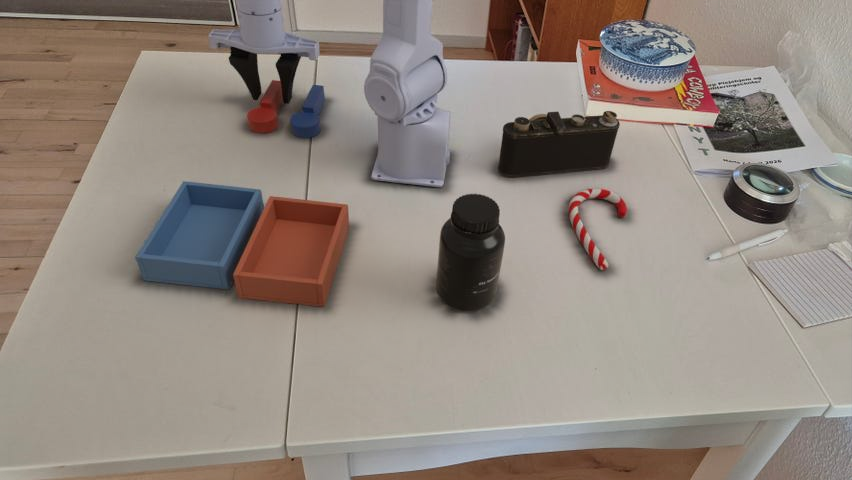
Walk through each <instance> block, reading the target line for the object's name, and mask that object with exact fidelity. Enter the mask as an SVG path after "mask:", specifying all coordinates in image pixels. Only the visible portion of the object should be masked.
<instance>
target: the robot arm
mask: <svg viewBox="0 0 852 480" xmlns="http://www.w3.org/2000/svg"><path fill="white" fill-rule="evenodd" d="M234 1H235V7H236V13H237V19H238V23H239V24H238V25H239V29H217V28H216V29H212V30H211V32H209V34H208V36H207V39H208V42H209V46H210V47H209V48H210V49H211V50H219V49H220V48H221V49H229V50H230V53H229V54H230V55H229V56H228V62H229V64H230V65H231V66H232V67H233V68H234V70H235V71H236V72H237V73H238V75H239V77H240V78H241V79H242V81H243V83H244V84H245V86H246V88H247V91H248V92H249V94H250V96H251V99H252V101H257V102H258V100H259V98H260V97H261V95H262V84H261V79H260V74H259V73H260V72H259V64H258V63H259V62H258V55H280V57H278V59H277V60H276V62H275V68H276V71H277V73H278V78H279V81H280V82H281V88H282V99H283V101H282V103H283V104H285V105H289V104H290V103H291V100H292V98H293V88H294V81H295V76H296V73H297V71H298V70H297V69H298V66H299V64H300V61H301V59H302V58H308V59H309V60H310V61H315V62H316V61H317V60H318V59H319V58H320V57H319V56H320V55H321V53H320V41H318V40H313V39H308V38H305V37H301V36H297V35H294V34H291V33H288V32H286V29H285V22H284V21H285V20H284V13H283V5H282V0H234ZM382 1H383V2H382V36H381V39H380V41H379V42H378V44H377V46H376V47H375V49H374V51H373V53H372V55H371V56H370V59H369V63H370V64H369V72H368V74H367V76H366V77H365V80H364V84H363V92H364V96H365V99H366V102H367V104H368V106H369V107H370V109H371V111H372V112H373V113H374V115H375V116H376V117H377V150H378V151H377V155H376V159H375V162H374V166H373V168H372V173H371V180H372V181H380V182H388V183H389V182H390V183H396V184H405V185H407V184H408V185H415V186H416V185H417V186H424V187H434V188H442V187H444V183H445V179H446V172H447V165H449V164H450V160H451V159H450V157H451V150H449V148H450V136H451V135H450V134H451V119H452V115H451V114H452V112H451V111H450V110H447V109H443V108H439V107H438V106H436V104H437V103H438V94H439V93H441V92H443V90H444V89H445V87H446V86H447V84H448V83H447V82H448V70H447V67H446V63H445V60H444V55H443V54H444V44H443V43H442V42H441V41H440V40H439V39H438V38H437V37H436V36H434V35H432V21H433V20H432V19H433V1H434V0H382Z"/></svg>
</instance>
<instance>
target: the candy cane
mask: <svg viewBox="0 0 852 480" xmlns="http://www.w3.org/2000/svg"><path fill="white" fill-rule="evenodd" d="M590 199H600V200H604V201H605V200H606V201H608V202H611V203H612V204H613V205H615V206H616V207H617V215H618V217H619V218H622V219H623V218H625V217H626V216H627V213H628V210H627V209H628V208H627V204H626V202H625V201H624V200H623V198H622V197H620V196H619V194H616V193H615V192H613V191H610V190H608V189H604V188H587V189H583V190H581V191H579V192H577V193H576V194H575V195H574V196H573V197H572V198H571V199H570V201H569V204H568V217H569V221H570V224H571V227H572V228H573V231H574V233H575V235H576V237H577V238H578V240H579V242H580V243H581V245H582V246H583V249H584V250H585V251H586V253H587V254H588V255H589V257H590V259H591V260H592V261H593V263H594V264H595V265H596V267H597V268H598V269H599V270H601V271H606V270H607V269H608V268H609V262H608V261H607V259H606V258H605V256H604V255H603V254H602V252H601V250H599V248H598V246H597V245H596V243H595V242H594V241H593V239H592V237H591V236H590V234H589V232H588V230H587V229H586V227H585V226H584V224H583V221H582V219H581V217H580V213H579V207H580V205H581V203H582V202H583V201H586V200H590Z"/></svg>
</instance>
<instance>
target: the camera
mask: <svg viewBox="0 0 852 480" xmlns="http://www.w3.org/2000/svg"><path fill="white" fill-rule="evenodd" d="M617 117H618V115H617V113H616V112H614V111H612V110H605V111H603V113H602V115H588V116H584V115H581V114H577V113H576V114H572V115H571V117H561V114H560V112H559V111H547V113H539V114H535V115H533V116H531V117H530V118H528V117H524V116H518V117H516V118H514V121H510V122H509V121H508V122H507V123H505V124H504V125H503V127H502V136H501V143H500V150H499V159H498V165H497V172H498V174H500V175H501V176H502V177H505V178H507V179H508V178H510V179H513V178H523V177H532V176H543V175H553V174H554V175H555V174H564V173H565V174H566V173H576V172H584V171H596V170H604V169H607V168H608V167H609V166H610V161H611V157H612V154H613V149H614V146H615V142H616V139H617V135H618V132H619V129H620V124H621V123H620V120H618V118H617Z"/></svg>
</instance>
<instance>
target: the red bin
mask: <svg viewBox="0 0 852 480" xmlns="http://www.w3.org/2000/svg"><path fill="white" fill-rule="evenodd" d="M349 230H350V215H349V204H346V203H337V202H328V201H319V200H311V199H303V198H302V199H301V198H292V197H283V196H274V195H270V196H269V197H268V199H267V201H266V204H265V205H264V210H263V212H262V214H261V216H260V218H259V220H258V222H257V225H256V227H255V229H254V231H253V233H252V235H251V237H250V240H249V242H248V244H247V246H246V248H245V250H244V252H243V255H242V257H241V259H240V261H239V263H238V265H237V267H236V270H235V272H234V274H233V276H234V280H233V282H234V285H235V288H236V289H235V290H236V293H237V297H238V298H239V299H249V300H256V301H257V300H258V301H266V302H267V301H268V302H277V303H286V304H293V305H294V304H296V305H304V306H314V307H321V308H324V307H325V306H326V304H327V300H328V297H329V294H330V290H331V287H332V283H333V282H334V278H335V274H336V271H337V268H338V266H339V262H340V258H341V255H342V253H343V252H342V251H343V249H344V246H345V243H346V239H347V236H348V233H349Z"/></svg>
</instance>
